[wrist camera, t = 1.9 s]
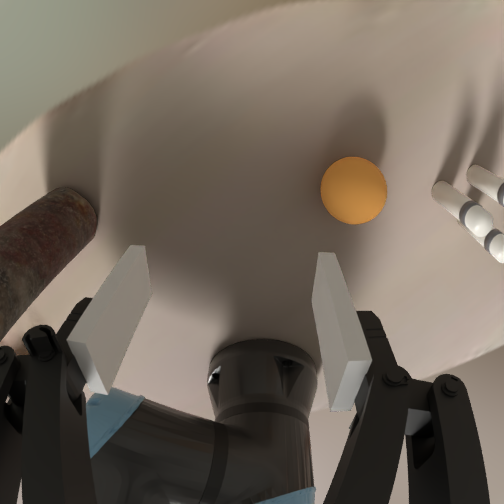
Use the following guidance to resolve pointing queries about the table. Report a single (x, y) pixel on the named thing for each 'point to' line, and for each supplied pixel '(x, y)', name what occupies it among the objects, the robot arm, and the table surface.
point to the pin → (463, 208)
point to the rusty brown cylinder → (40, 248)
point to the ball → (353, 190)
